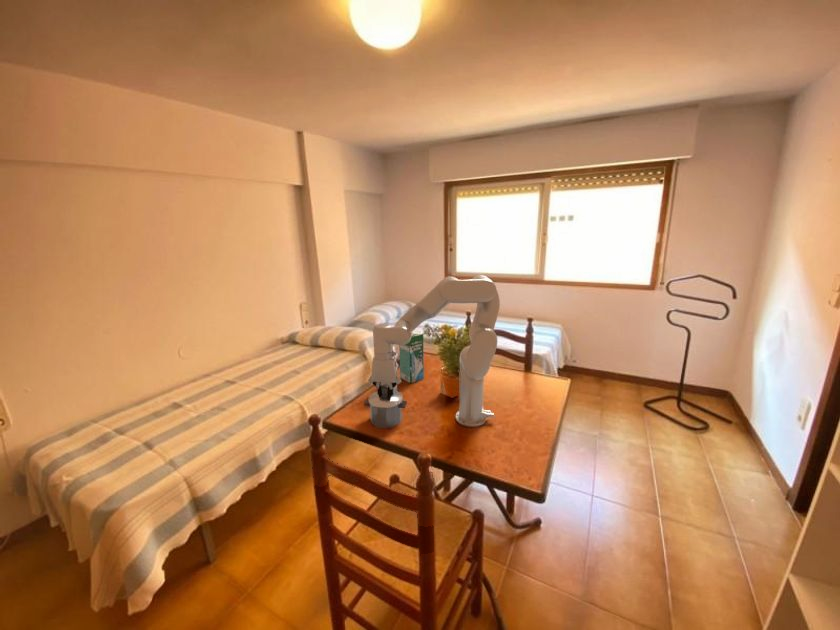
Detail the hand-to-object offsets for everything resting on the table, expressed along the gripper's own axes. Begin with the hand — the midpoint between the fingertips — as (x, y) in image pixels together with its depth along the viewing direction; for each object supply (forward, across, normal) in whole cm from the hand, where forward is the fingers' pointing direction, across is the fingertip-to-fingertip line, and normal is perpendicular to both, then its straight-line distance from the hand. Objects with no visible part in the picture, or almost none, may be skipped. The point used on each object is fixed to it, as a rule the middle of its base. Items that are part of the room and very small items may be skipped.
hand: (385, 396), depth 139 cm
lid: (+3, 0, 0) cm, 3 cm away
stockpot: (+11, 0, 0) cm, 11 cm away
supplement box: (+11, -25, -25) cm, 37 cm away
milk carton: (+11, -4, -41) cm, 43 cm away
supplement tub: (+11, +5, -23) cm, 26 cm away
